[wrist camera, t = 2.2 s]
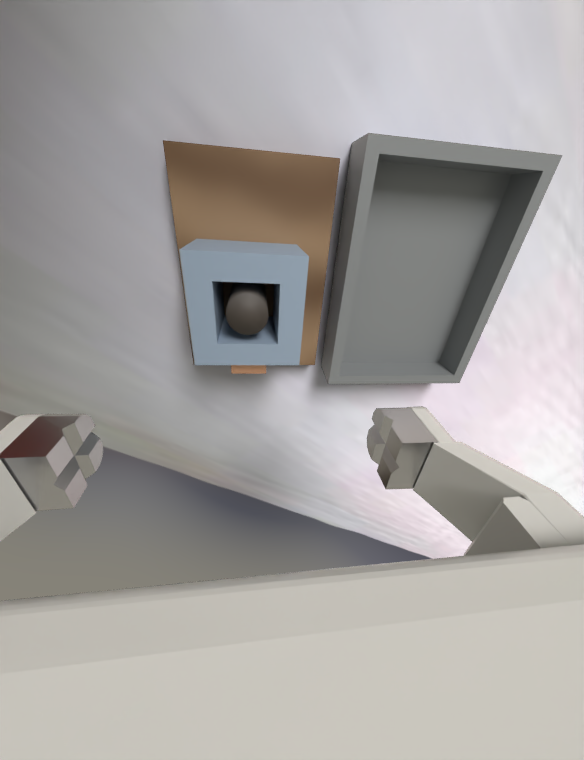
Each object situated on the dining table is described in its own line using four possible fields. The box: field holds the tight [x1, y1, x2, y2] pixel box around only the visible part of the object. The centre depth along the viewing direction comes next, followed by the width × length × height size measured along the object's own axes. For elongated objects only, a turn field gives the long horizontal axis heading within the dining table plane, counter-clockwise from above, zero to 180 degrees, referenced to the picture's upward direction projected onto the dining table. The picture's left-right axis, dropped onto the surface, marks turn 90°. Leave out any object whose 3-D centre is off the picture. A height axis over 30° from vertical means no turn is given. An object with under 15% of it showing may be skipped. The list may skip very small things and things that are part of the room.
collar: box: [179, 239, 309, 373], centre depth 18 cm, size 8×6×5 cm
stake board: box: [163, 140, 340, 365], centre depth 18 cm, size 14×10×6 cm
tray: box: [321, 133, 562, 384], centre depth 21 cm, size 16×12×3 cm
